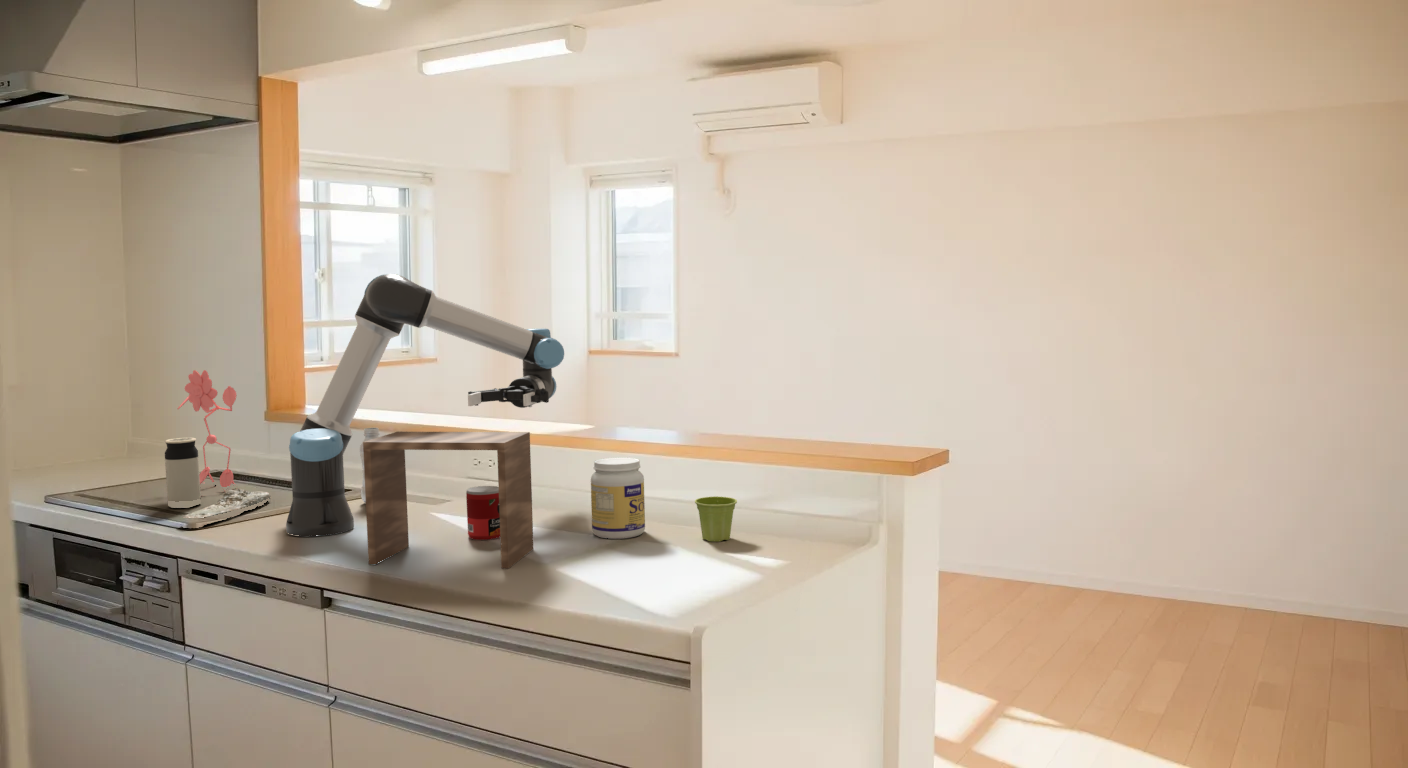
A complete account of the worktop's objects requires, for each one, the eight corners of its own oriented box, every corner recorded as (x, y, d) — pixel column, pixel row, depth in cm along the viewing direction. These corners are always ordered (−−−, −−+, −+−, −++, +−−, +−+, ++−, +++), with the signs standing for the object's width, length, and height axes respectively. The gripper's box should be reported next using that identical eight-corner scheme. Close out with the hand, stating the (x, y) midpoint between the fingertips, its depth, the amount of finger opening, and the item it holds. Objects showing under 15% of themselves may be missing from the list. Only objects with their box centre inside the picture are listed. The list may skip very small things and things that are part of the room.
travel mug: (207, 505, 289) (203, 438, 287) (179, 510, 282) (175, 442, 281) (189, 502, 293) (185, 436, 292) (161, 507, 287) (157, 440, 285)
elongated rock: (167, 535, 260) (206, 538, 259) (166, 514, 259) (205, 517, 258) (245, 499, 294) (280, 501, 293) (245, 480, 294) (279, 482, 293)
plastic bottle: (359, 502, 289) (356, 428, 287) (385, 499, 292) (382, 426, 290) (363, 506, 283) (359, 430, 282) (389, 503, 286) (386, 429, 284)
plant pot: (739, 534, 244) (738, 496, 243) (736, 544, 235) (735, 504, 234) (697, 534, 245) (697, 496, 244) (693, 543, 236) (692, 504, 235)
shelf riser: (368, 565, 222) (363, 442, 220) (402, 546, 238) (397, 431, 236) (508, 568, 217) (504, 442, 215) (533, 549, 233) (529, 432, 231)
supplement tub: (633, 541, 239) (631, 466, 237) (582, 538, 243) (580, 464, 241) (653, 529, 250) (651, 457, 249) (605, 526, 254) (603, 455, 253)
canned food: (495, 540, 242) (493, 492, 241) (462, 539, 243) (460, 491, 242) (508, 533, 249) (506, 486, 248) (475, 532, 251) (474, 485, 250)
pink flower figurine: (199, 483, 323) (190, 366, 319) (258, 490, 310) (249, 368, 306) (152, 493, 309) (142, 371, 305) (211, 500, 297) (201, 374, 293)
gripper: (573, 406, 273) (548, 416, 252) (479, 406, 277) (447, 416, 256) (573, 376, 273) (547, 384, 252) (478, 377, 277) (446, 384, 256)
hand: (497, 400), depth 254 cm, fingers open, 13 cm apart
